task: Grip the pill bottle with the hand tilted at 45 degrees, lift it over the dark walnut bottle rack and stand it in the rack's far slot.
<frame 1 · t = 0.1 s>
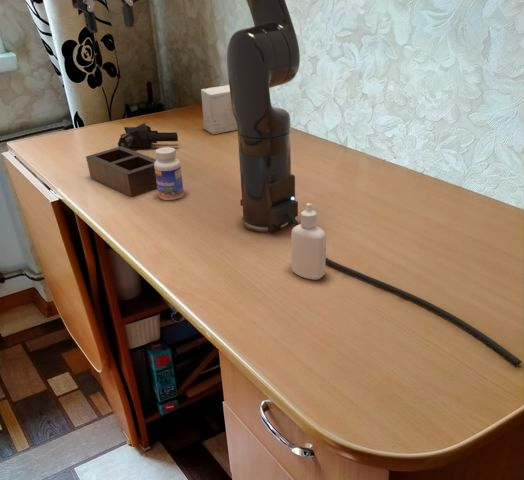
hand: (112, 29, 119), 29 cm above the table, tool pointing down, fingers open, 8 cm apart
eye dropper bottle: (308, 274, 94), on the table
cosmetics box: (225, 129, 159), on the table
pill bottle: (171, 196, 123), on the table
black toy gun: (152, 146, 150), on the table
rack: (128, 181, 131), on the table
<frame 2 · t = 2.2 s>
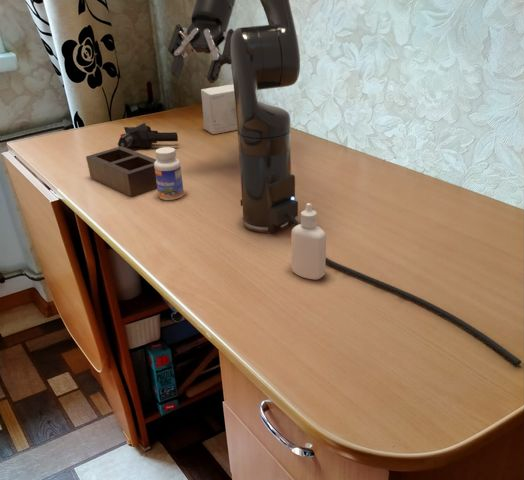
hand: (192, 79, 118), 21 cm above the table, tool tilted 40°, fingers open, 8 cm apart
nothing on the table moved.
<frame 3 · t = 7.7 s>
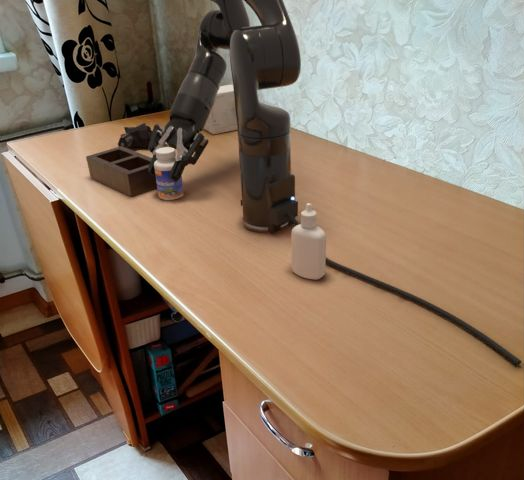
hand: (162, 176, 119), 5 cm above the table, tool tilted 45°, fingers closed on pill bottle, 5 cm apart
pill bottle: (171, 196, 123), on the table, touching gripper
everything else where it was.
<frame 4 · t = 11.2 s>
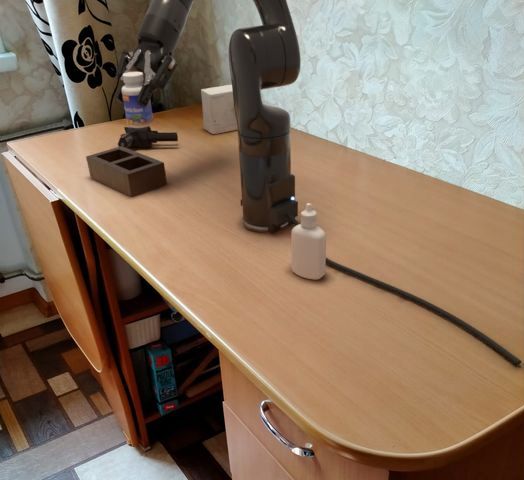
hand: (130, 102, 115), 18 cm above the table, tool tilted 45°, fingers closed on pill bottle, 5 cm apart
pill bottle: (141, 125, 119), point 13 cm above the table, touching gripper
everything else where it was.
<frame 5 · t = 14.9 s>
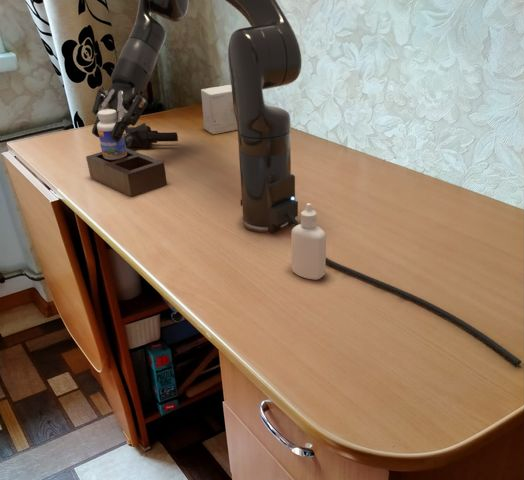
hand: (105, 137, 126), 9 cm above the table, tool tilted 45°, fingers closed on pill bottle, 5 cm apart
pill bottle: (115, 157, 130), point 5 cm above the table, touching gripper
everything else where it was.
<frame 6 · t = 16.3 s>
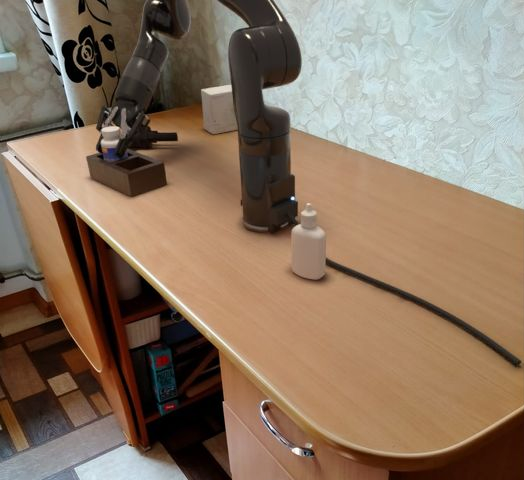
hand: (108, 154, 128), 6 cm above the table, tool tilted 45°, fingers closed on pill bottle, 5 cm apart
pill bottle: (119, 172, 132), point 1 cm above the table, touching gripper
everything else where it was.
when the fingers open (6 cm above the table, at t = 22.2 s): pill bottle drops 1 cm, resting in rack.
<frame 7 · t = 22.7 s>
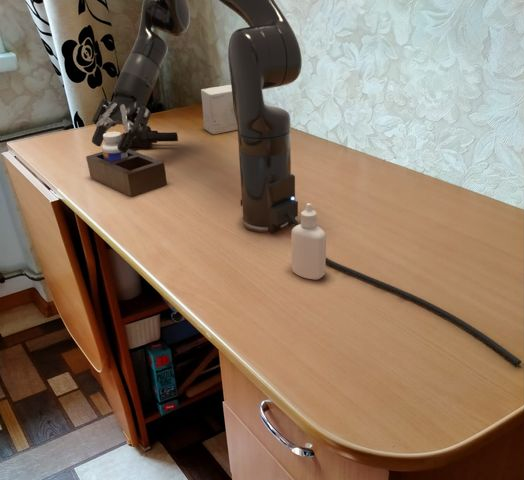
hand: (108, 147, 128), 7 cm above the table, tool tilted 45°, fingers open, 8 cm apart
pill bottle: (119, 177, 133), resting in rack
everything else where it was.
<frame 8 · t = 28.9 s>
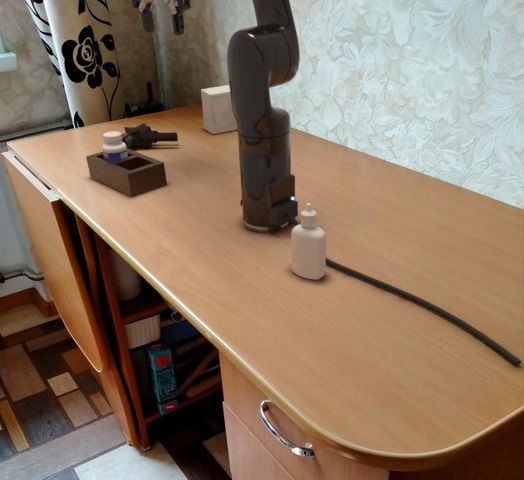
hand: (164, 33, 120), 28 cm above the table, tool pointing down, fingers open, 8 cm apart
nothing on the table moved.
at the end: pill bottle 0.2 cm from the target spot in the rack, point 0.0 cm above the rack's base; pill bottle tilted 1°; the gripper is holding nothing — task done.
